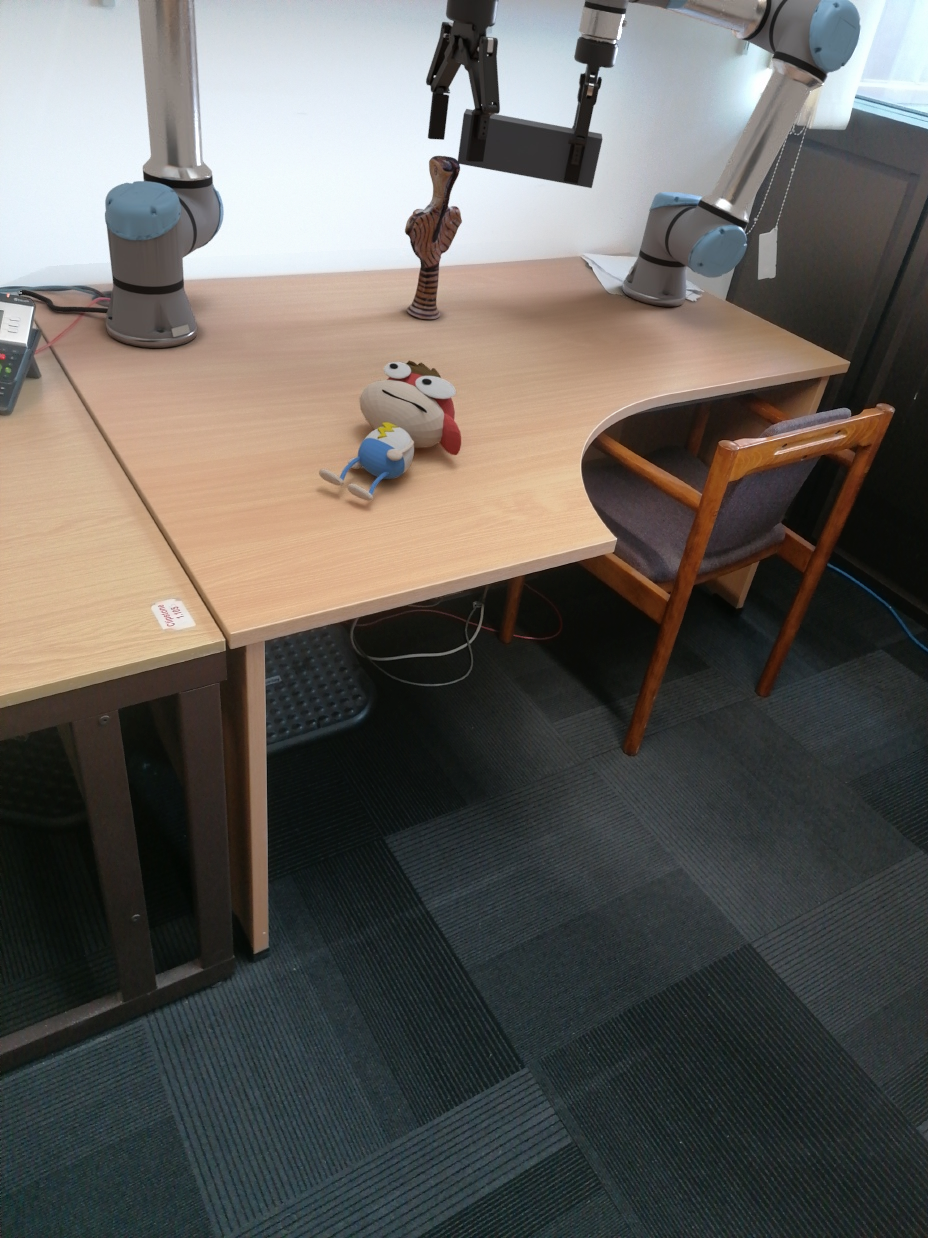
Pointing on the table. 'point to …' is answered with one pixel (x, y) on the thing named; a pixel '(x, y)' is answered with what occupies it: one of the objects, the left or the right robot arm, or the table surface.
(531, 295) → the table surface
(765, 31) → the right robot arm
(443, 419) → the toy
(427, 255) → the figurine
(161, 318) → the left robot arm
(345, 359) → the table surface
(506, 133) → the bar
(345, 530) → the table surface
